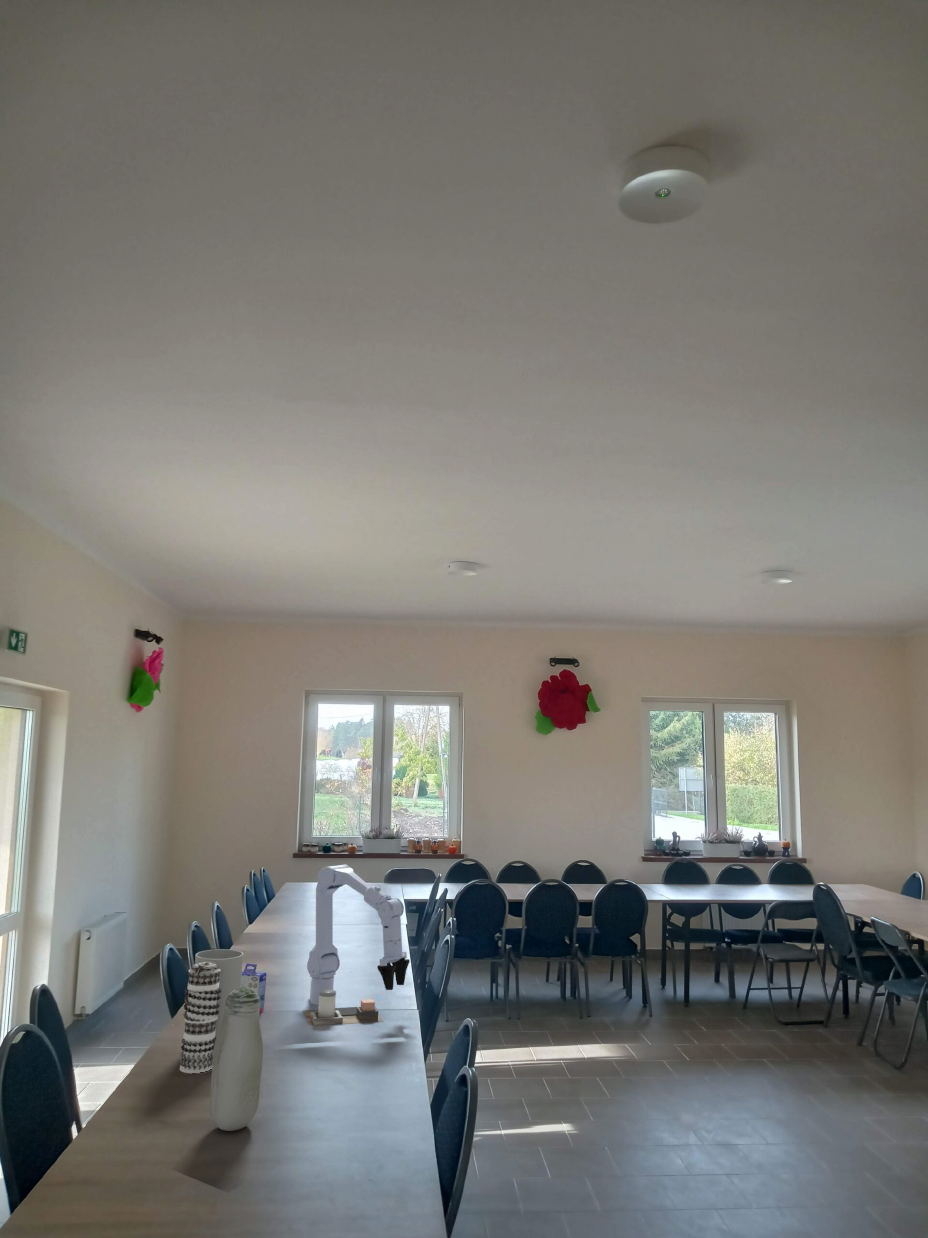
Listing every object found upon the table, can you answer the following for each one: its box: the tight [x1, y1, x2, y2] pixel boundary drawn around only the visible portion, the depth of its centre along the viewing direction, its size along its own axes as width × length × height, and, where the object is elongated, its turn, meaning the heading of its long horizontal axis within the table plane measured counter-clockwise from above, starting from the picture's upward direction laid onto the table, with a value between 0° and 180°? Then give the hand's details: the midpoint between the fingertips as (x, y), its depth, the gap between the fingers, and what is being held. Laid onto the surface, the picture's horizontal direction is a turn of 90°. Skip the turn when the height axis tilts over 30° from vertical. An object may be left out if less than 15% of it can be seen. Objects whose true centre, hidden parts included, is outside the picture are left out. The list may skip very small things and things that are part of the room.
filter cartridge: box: [317, 989, 337, 1018], centre depth 257 cm, size 5×5×8 cm
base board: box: [302, 1006, 384, 1027], centre depth 261 cm, size 16×22×4 cm
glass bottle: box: [209, 987, 264, 1132], centre depth 184 cm, size 10×10×28 cm
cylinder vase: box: [194, 948, 244, 1043], centre depth 230 cm, size 12×12×25 cm
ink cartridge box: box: [241, 963, 267, 1014], centre depth 264 cm, size 10×6×14 cm, turn 78°
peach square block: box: [360, 998, 376, 1011], centre depth 261 cm, size 4×4×3 cm
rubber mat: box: [335, 1006, 358, 1016], centre depth 265 cm, size 8×8×1 cm
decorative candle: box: [179, 962, 221, 1075], centre depth 218 cm, size 9×9×25 cm
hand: (395, 987), depth 260 cm, fingers open, 7 cm apart
